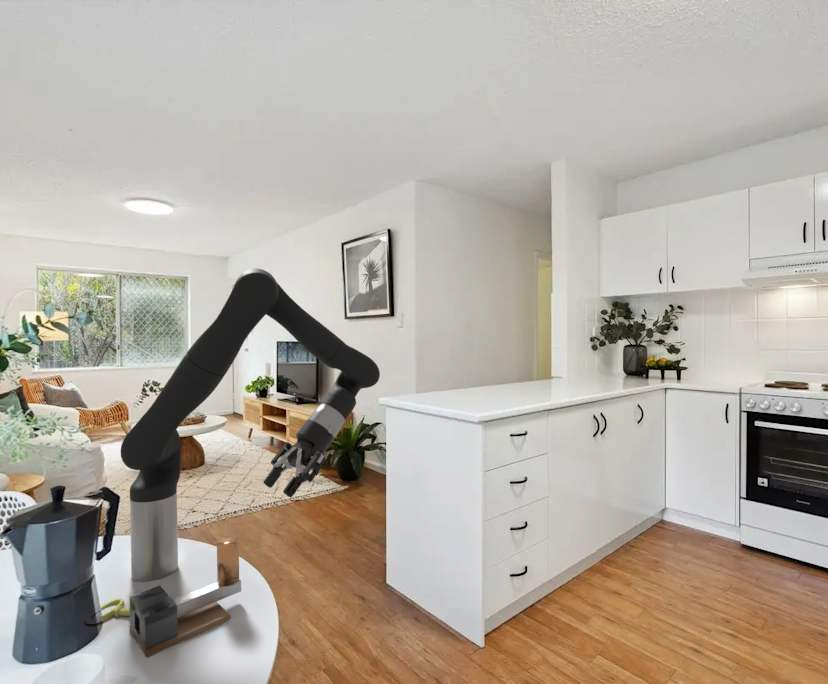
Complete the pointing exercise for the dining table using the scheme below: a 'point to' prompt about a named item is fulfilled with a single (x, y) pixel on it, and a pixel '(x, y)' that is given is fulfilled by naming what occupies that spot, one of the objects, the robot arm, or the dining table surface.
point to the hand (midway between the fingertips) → (276, 490)
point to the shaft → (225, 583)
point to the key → (115, 609)
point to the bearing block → (153, 617)
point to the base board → (190, 626)
